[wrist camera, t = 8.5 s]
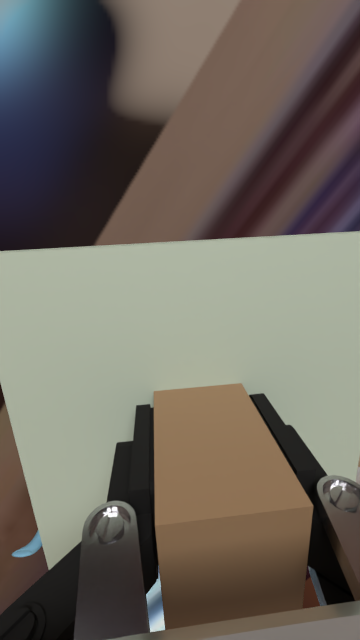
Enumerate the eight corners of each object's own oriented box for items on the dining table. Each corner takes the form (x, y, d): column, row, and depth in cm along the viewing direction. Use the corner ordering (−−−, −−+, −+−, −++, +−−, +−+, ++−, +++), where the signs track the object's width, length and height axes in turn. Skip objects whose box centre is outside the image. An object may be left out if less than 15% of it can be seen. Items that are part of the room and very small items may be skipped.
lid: (354, 230, 13) (637, 230, 5) (323, 495, 17) (454, 699, 10) (1, 250, 12) (-263, 284, 4) (63, 527, 16) (-14, 783, 9)
